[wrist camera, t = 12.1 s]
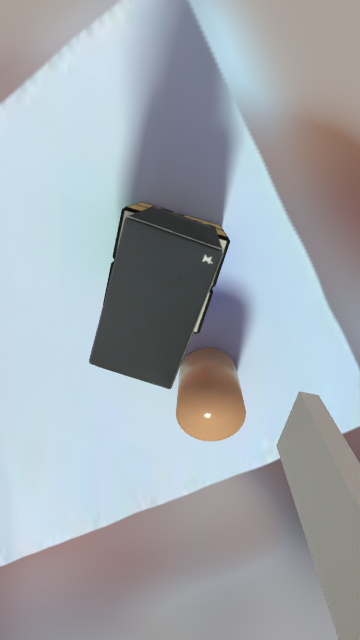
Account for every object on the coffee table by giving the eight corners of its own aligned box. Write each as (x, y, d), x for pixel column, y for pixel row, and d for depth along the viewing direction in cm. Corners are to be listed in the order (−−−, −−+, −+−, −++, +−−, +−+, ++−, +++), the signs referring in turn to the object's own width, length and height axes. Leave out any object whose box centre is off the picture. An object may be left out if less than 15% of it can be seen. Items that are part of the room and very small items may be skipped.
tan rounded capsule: (174, 390, 46) (170, 434, 38) (186, 342, 43) (184, 378, 35) (228, 400, 47) (235, 446, 38) (243, 353, 44) (254, 392, 35)
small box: (147, 201, 27) (121, 209, 18) (218, 226, 28) (231, 247, 18) (117, 310, 31) (82, 365, 22) (180, 330, 32) (174, 393, 22)
